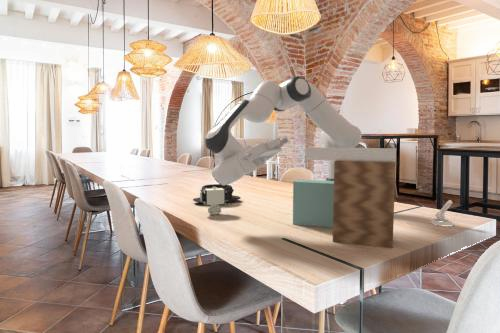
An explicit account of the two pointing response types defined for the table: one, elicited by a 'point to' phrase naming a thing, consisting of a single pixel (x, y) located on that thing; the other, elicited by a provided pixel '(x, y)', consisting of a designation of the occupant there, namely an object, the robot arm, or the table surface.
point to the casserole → (227, 187)
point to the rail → (351, 154)
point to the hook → (442, 215)
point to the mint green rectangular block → (313, 203)
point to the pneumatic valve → (214, 199)
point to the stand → (364, 202)
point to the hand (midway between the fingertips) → (283, 139)
